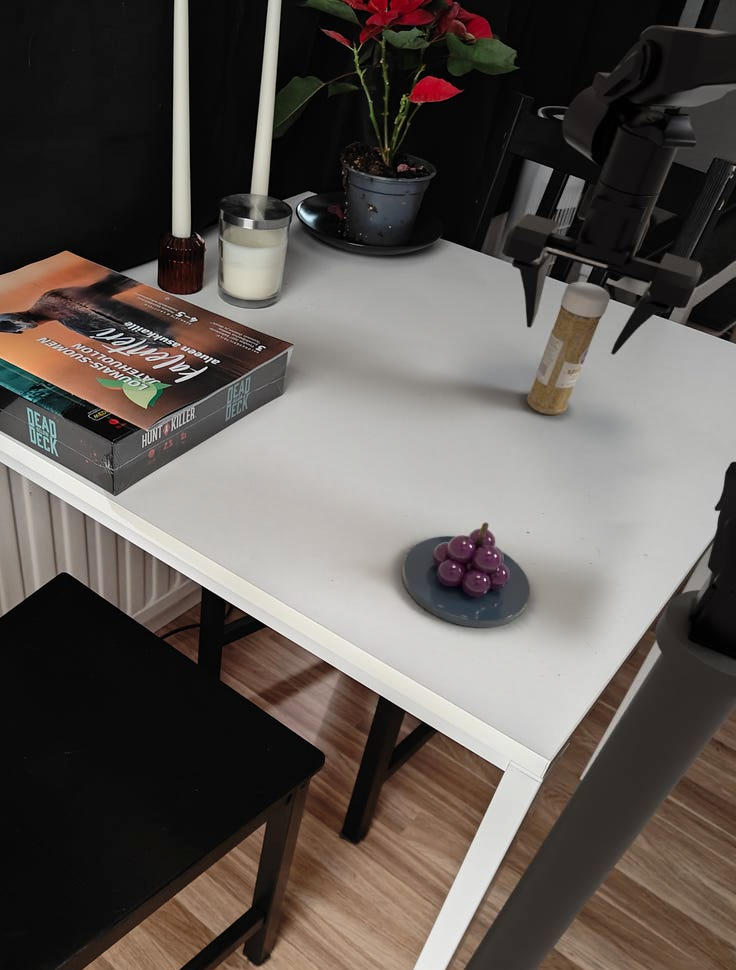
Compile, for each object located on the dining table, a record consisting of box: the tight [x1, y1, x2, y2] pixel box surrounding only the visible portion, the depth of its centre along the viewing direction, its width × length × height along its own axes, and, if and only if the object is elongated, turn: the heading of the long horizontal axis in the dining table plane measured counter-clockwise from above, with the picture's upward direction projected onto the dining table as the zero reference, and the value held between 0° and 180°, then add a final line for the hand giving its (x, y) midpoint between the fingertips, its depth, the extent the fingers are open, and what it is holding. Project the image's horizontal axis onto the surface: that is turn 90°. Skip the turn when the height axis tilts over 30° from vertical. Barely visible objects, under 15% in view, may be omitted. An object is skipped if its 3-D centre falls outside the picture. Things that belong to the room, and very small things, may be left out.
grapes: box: [401, 521, 531, 628], centre depth 76 cm, size 11×11×7 cm
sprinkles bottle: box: [526, 281, 611, 416], centre depth 97 cm, size 5×5×13 cm
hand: (571, 339), depth 96 cm, fingers open, 9 cm apart
